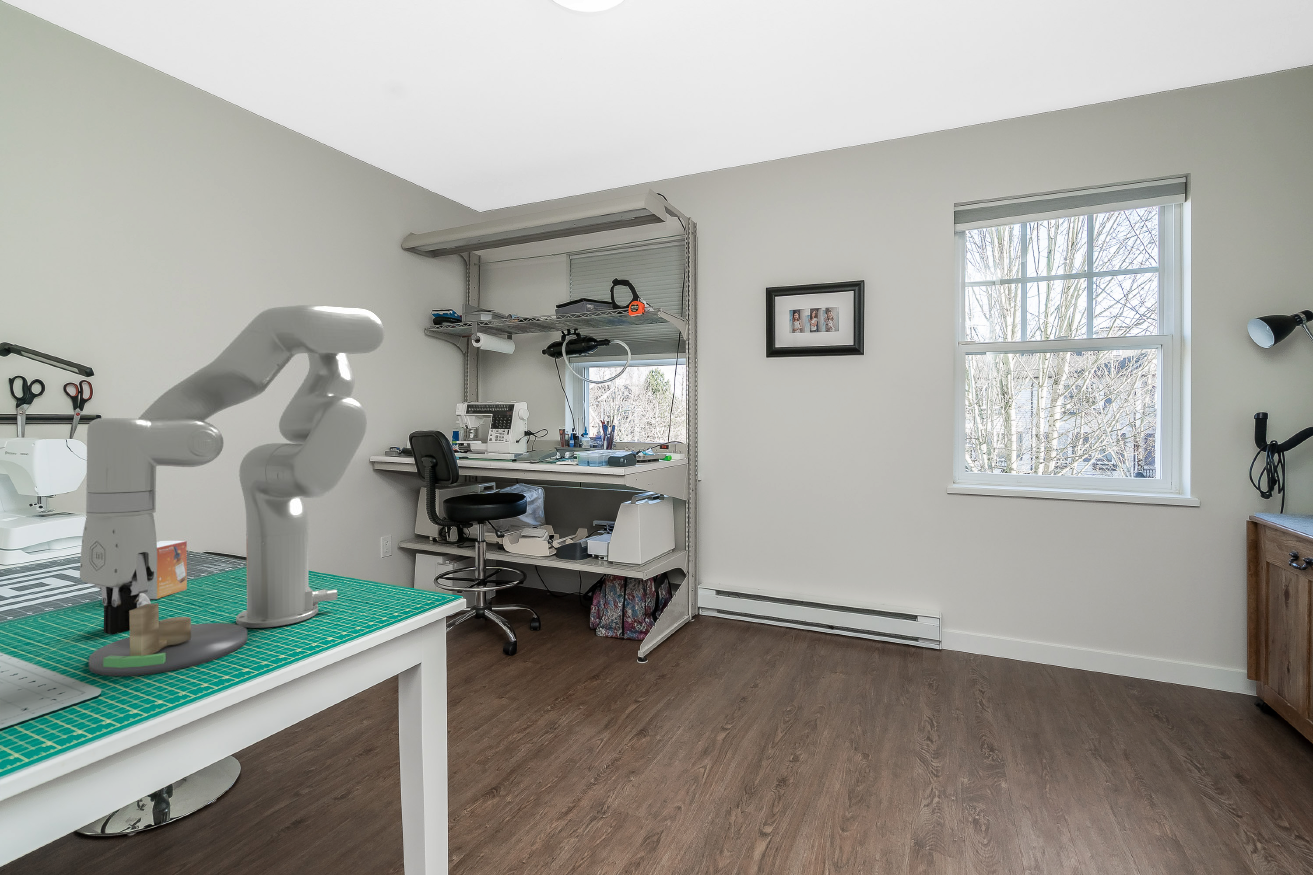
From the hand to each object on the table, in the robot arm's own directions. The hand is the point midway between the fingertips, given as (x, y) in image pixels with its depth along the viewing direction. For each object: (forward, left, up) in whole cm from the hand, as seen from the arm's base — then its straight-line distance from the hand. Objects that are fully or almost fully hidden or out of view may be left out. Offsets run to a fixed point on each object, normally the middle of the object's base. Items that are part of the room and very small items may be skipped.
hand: (120, 631), depth 87 cm
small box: (-4, -45, -6) cm, 46 cm away
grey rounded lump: (0, -22, -6) cm, 23 cm away
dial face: (-6, -3, -5) cm, 9 cm away
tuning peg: (-4, -1, -4) cm, 6 cm away
